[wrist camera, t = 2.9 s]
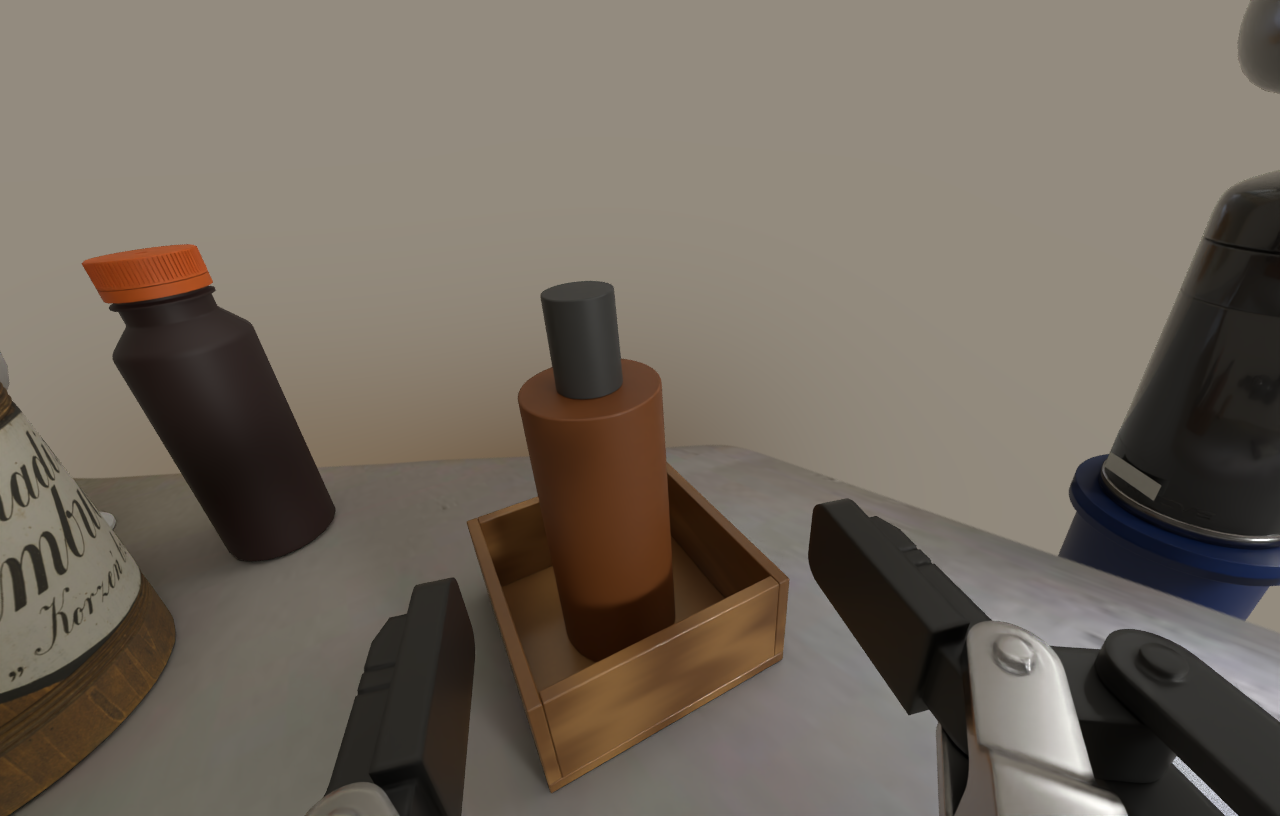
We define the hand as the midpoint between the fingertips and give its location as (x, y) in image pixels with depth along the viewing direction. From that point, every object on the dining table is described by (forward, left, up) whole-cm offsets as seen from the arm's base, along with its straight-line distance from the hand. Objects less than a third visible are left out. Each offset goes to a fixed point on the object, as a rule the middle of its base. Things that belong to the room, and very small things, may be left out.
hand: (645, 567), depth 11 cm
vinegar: (+15, -31, -15) cm, 38 cm away
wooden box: (-3, -11, -15) cm, 19 cm away
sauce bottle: (-3, -11, -14) cm, 18 cm away
